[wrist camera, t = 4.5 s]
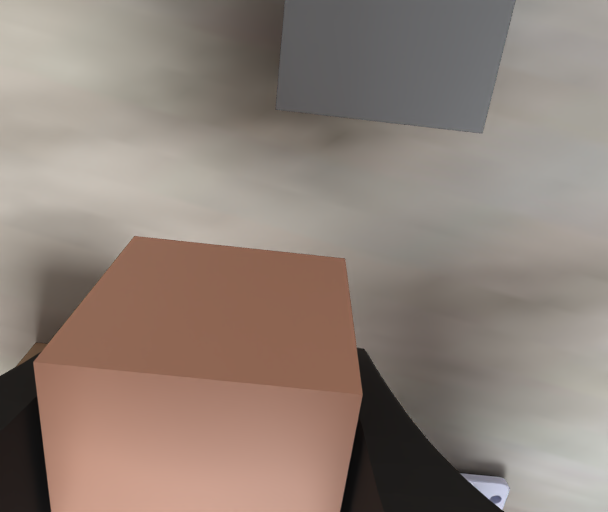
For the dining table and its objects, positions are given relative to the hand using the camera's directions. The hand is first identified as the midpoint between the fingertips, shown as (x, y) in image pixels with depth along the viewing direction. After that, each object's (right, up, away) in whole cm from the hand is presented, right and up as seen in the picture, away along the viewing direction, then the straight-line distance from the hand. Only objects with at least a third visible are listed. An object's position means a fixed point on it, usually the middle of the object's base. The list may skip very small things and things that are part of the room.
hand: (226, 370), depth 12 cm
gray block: (+4, +10, +4) cm, 12 cm away
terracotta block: (0, +1, +1) cm, 1 cm away
